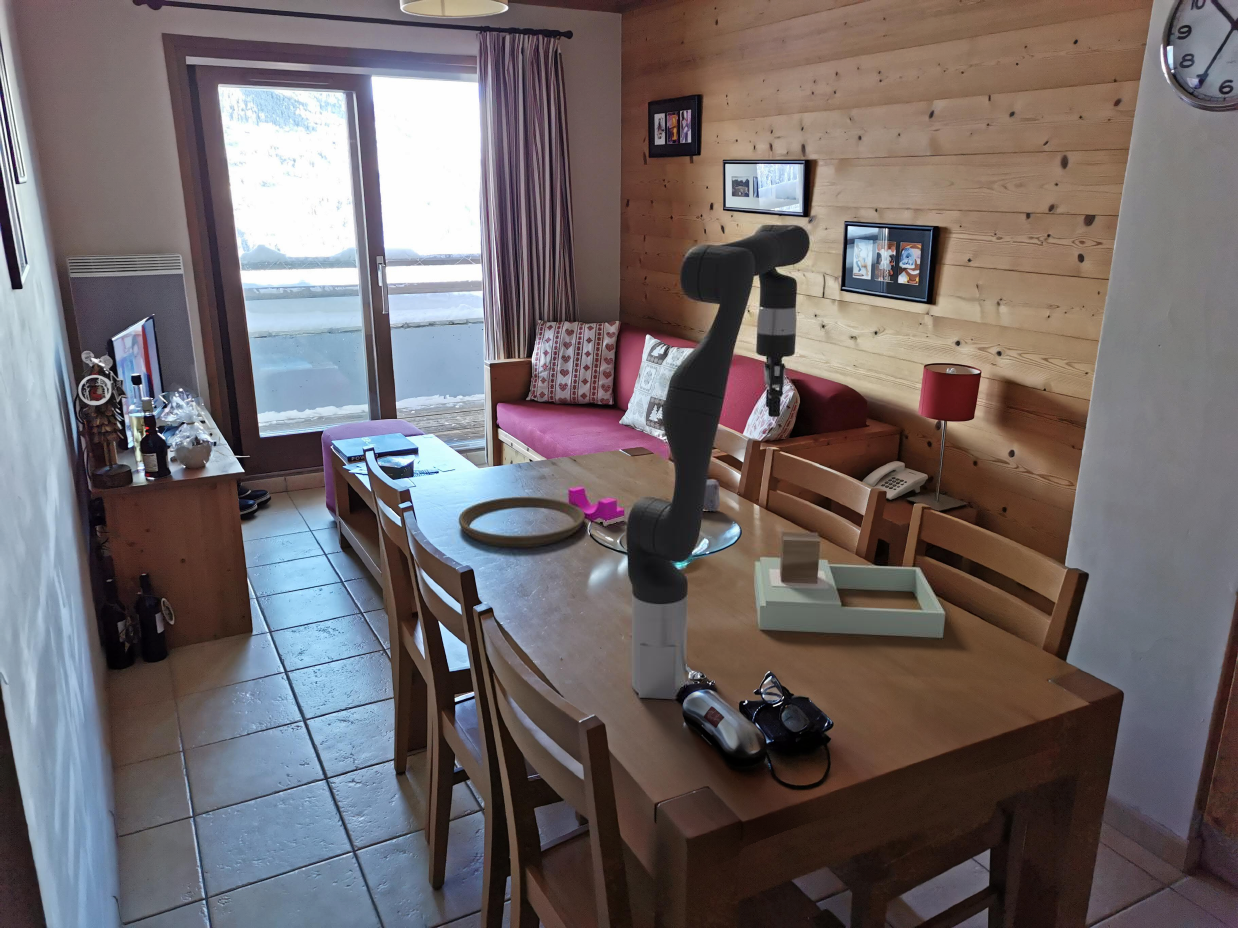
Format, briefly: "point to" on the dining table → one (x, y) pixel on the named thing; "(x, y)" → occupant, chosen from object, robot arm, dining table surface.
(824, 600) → the box
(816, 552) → the wood block
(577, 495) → the toy block
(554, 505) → the brown flat ring
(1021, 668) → the dining table surface
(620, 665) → the dining table surface
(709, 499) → the stone block
